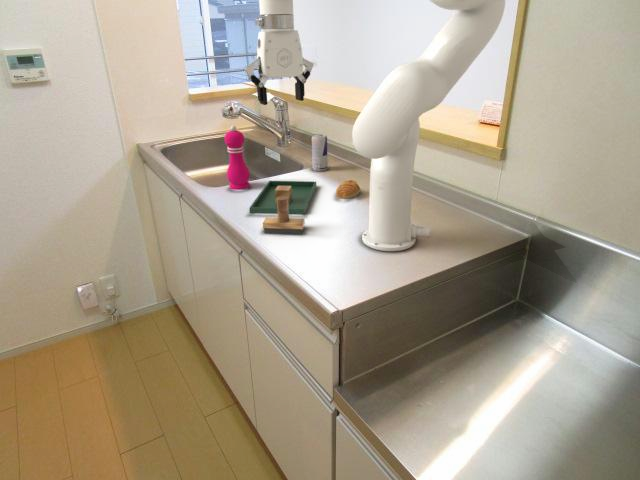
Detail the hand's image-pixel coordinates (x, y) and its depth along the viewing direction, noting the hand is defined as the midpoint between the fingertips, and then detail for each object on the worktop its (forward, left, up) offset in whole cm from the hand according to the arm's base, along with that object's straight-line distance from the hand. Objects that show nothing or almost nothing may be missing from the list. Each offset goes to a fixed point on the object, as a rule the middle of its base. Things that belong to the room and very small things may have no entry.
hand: (281, 102), depth 109 cm
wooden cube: (+3, -9, -29) cm, 31 cm away
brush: (-1, +10, -30) cm, 32 cm away
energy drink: (-3, -43, -30) cm, 53 cm away
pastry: (-15, -17, -30) cm, 38 cm away
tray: (+3, -11, -30) cm, 32 cm away
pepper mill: (+20, -21, -30) cm, 42 cm away
